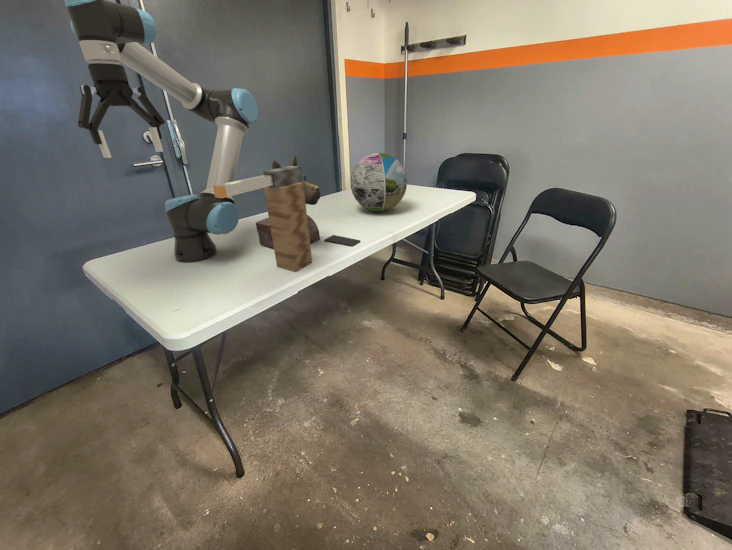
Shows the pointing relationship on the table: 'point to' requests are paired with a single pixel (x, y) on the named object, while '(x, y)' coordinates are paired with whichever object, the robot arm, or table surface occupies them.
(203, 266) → the table surface
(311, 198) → the dog bust
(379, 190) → the photo panel ball
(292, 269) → the pedestal
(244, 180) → the orange-tipped white stick
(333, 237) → the smartphone
